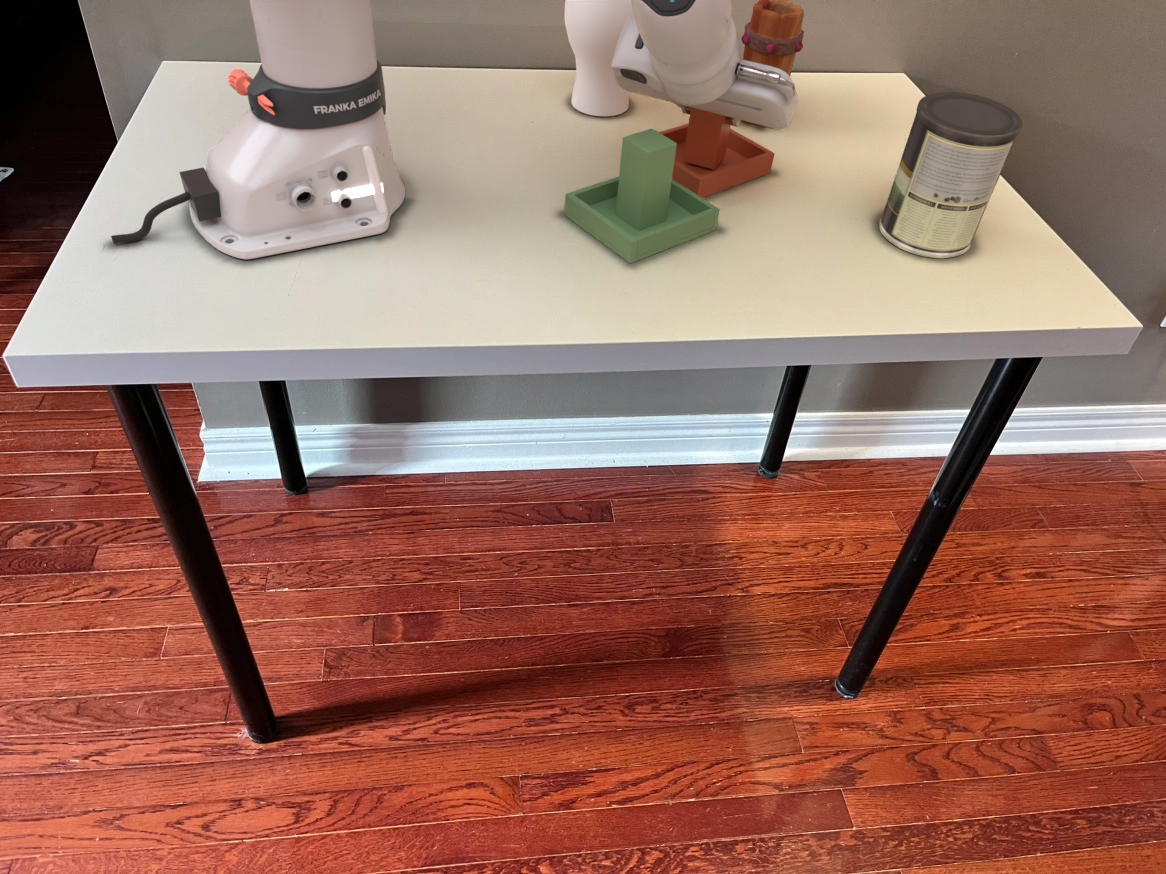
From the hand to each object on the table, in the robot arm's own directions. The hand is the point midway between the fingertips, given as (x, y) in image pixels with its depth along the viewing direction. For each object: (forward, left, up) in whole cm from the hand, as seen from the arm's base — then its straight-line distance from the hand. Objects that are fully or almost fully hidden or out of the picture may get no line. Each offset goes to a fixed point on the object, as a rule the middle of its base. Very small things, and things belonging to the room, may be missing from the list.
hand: (712, 114), depth 103 cm
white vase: (-1, +20, -7) cm, 21 cm away
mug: (+17, +8, -7) cm, 20 cm away
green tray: (-16, -6, -6) cm, 18 cm away
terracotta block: (-1, 0, -5) cm, 5 cm away
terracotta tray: (-1, 0, -6) cm, 6 cm away
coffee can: (+10, -25, -7) cm, 28 cm away
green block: (-16, -6, -6) cm, 18 cm away
